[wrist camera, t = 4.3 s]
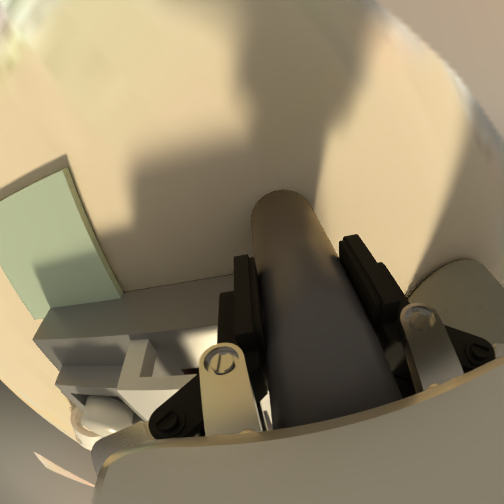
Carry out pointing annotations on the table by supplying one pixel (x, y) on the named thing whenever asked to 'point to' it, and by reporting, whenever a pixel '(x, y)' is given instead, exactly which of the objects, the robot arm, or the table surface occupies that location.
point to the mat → (52, 248)
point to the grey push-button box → (135, 344)
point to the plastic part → (83, 430)
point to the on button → (106, 415)
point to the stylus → (313, 321)
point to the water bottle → (465, 299)
